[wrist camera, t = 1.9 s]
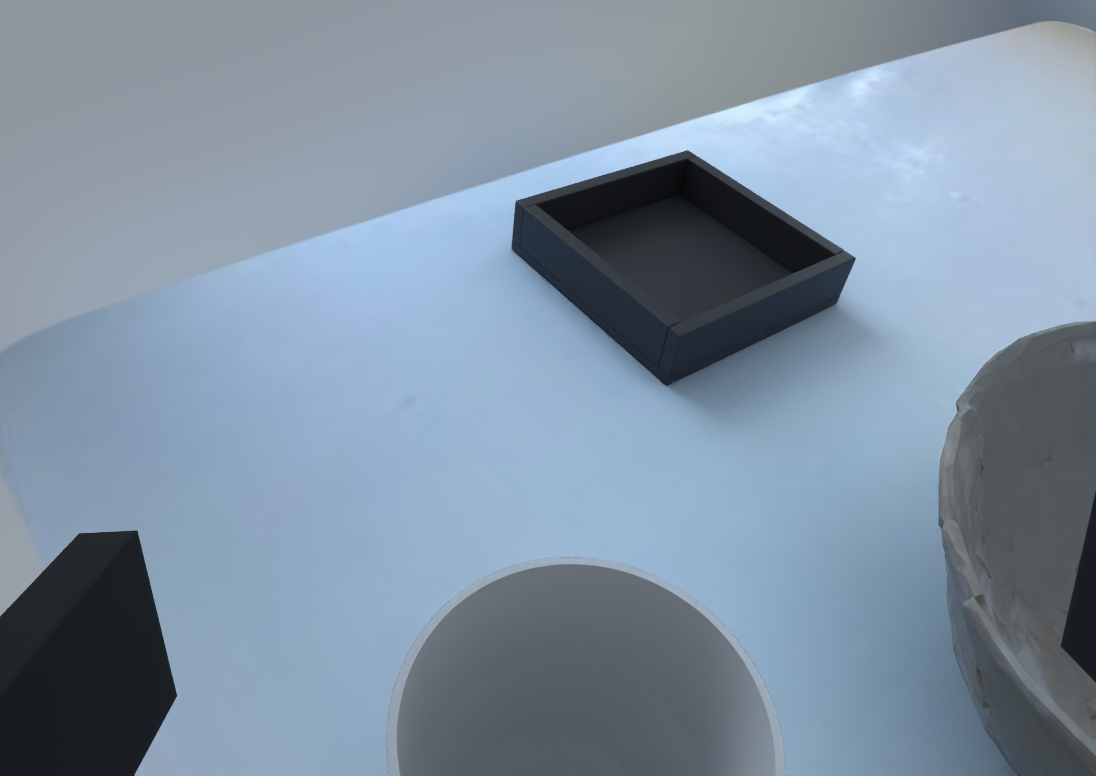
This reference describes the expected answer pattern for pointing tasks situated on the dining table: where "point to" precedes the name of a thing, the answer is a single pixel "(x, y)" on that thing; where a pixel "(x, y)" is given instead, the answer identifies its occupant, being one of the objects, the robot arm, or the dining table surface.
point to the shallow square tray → (678, 261)
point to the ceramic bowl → (1023, 544)
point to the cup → (579, 682)
